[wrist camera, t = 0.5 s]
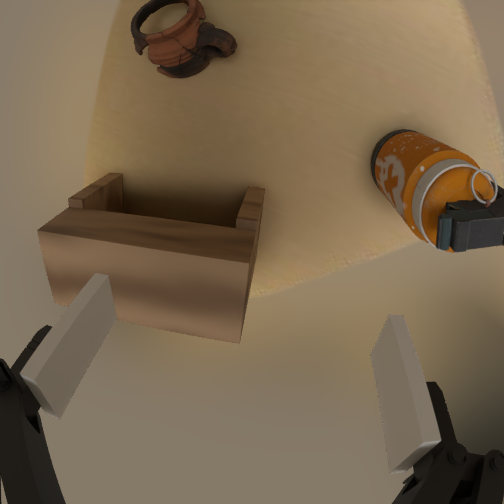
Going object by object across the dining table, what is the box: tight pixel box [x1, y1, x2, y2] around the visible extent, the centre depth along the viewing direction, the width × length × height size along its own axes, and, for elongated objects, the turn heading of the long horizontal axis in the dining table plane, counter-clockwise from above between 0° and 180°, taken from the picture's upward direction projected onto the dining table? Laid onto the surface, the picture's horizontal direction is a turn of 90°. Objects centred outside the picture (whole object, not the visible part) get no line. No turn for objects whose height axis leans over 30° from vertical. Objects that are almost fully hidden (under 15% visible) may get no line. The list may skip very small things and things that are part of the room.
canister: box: [371, 130, 504, 252], centre depth 27 cm, size 9×11×20 cm
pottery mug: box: [131, 0, 237, 78], centre depth 28 cm, size 12×9×8 cm
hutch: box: [37, 173, 265, 343], centre depth 35 cm, size 10×21×16 cm, turn 84°
